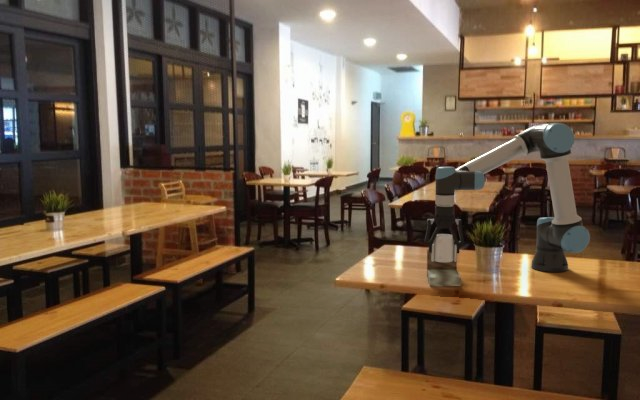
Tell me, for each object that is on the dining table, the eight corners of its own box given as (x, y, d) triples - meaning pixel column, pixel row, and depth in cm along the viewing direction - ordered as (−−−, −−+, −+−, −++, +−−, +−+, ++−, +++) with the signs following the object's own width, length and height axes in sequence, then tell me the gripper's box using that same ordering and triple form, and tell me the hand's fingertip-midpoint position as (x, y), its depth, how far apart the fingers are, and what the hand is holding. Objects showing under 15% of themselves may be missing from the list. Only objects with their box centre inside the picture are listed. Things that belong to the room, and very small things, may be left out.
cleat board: (455, 276, 239) (456, 248, 237) (460, 286, 223) (461, 256, 221) (426, 275, 240) (427, 248, 239) (429, 286, 224) (430, 256, 223)
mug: (448, 265, 222) (448, 239, 221) (427, 263, 226) (428, 237, 225) (455, 259, 233) (456, 234, 232) (436, 257, 237) (436, 233, 236)
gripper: (470, 204, 229) (469, 259, 232) (417, 204, 232) (416, 258, 234) (473, 206, 222) (471, 263, 225) (418, 206, 224) (417, 262, 227)
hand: (443, 260), depth 229 cm, fingers closed on mug, 8 cm apart
